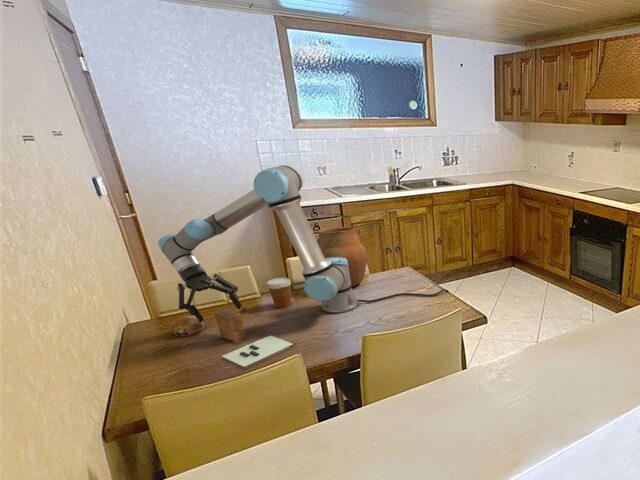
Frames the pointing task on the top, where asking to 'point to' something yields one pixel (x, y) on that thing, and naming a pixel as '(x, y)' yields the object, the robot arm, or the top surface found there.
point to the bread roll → (187, 326)
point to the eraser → (230, 325)
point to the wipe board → (265, 349)
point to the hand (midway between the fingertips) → (221, 313)
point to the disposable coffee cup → (280, 292)
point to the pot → (345, 249)
